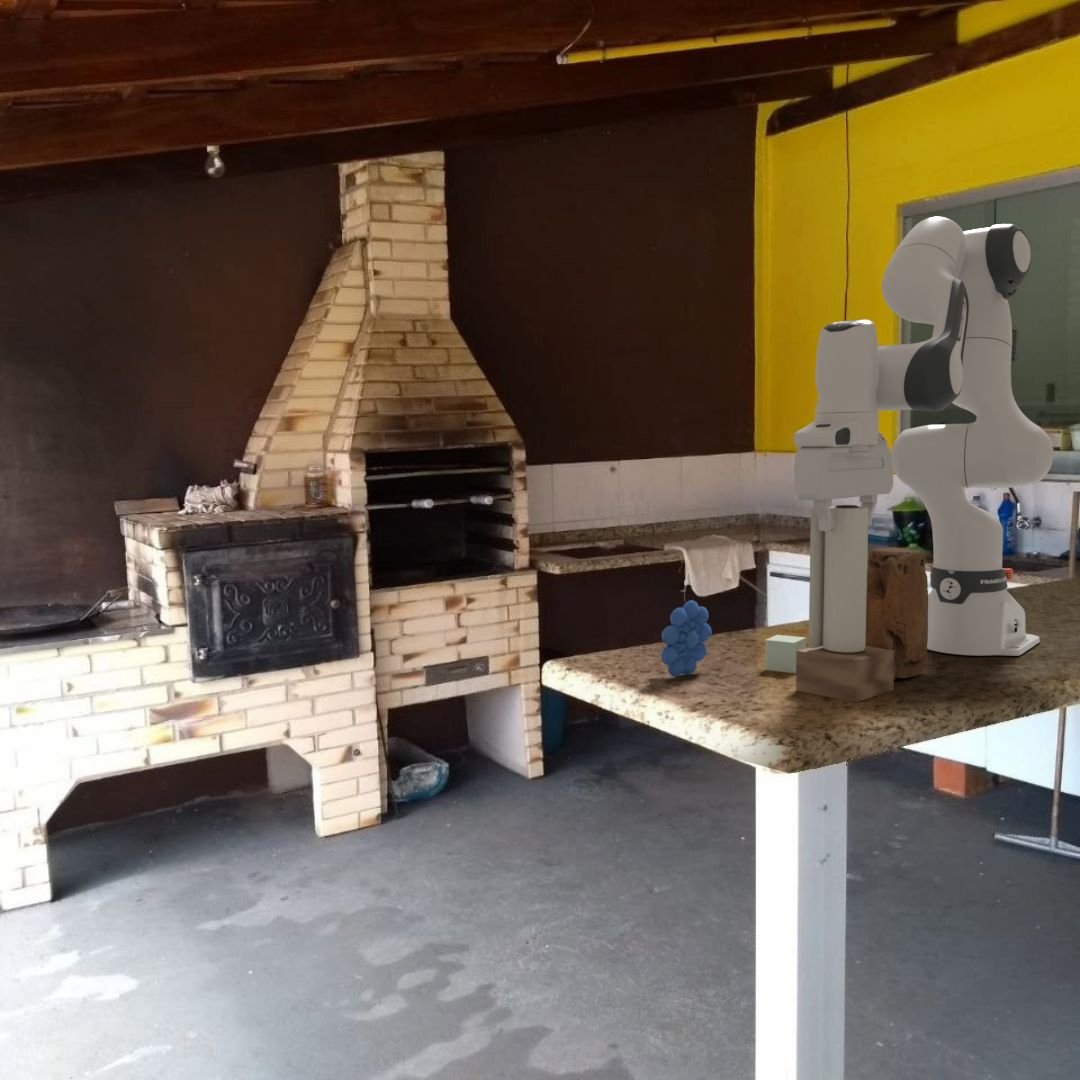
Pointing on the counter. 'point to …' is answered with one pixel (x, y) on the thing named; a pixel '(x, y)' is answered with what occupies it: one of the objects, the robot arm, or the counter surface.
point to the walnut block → (845, 673)
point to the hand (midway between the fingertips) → (845, 528)
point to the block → (898, 607)
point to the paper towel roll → (839, 580)
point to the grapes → (685, 639)
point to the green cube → (783, 652)
